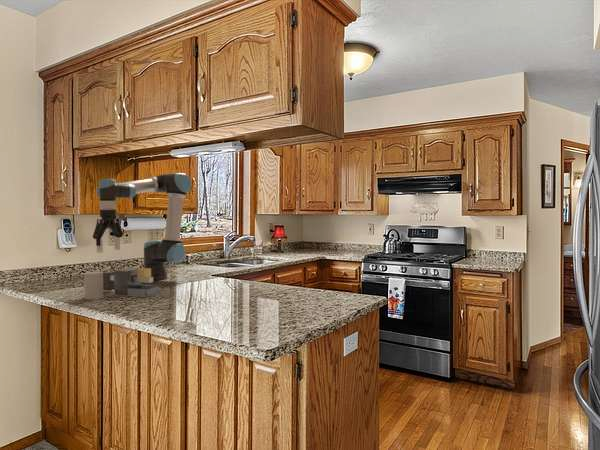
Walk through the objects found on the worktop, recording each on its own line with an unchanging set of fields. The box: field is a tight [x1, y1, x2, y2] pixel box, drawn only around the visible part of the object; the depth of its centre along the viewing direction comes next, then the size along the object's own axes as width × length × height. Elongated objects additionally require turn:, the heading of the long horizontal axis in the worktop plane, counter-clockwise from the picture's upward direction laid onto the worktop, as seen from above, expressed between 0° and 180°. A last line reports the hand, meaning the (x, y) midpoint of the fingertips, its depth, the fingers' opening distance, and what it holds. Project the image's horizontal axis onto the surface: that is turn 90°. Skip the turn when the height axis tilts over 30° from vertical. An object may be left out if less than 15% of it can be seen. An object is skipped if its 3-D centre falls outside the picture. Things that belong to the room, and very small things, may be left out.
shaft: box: [102, 271, 154, 292], centre depth 214 cm, size 4×29×9 cm, turn 72°
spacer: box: [138, 267, 151, 278], centre depth 211 cm, size 5×4×4 cm
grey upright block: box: [83, 271, 104, 300], centre depth 203 cm, size 8×8×12 cm
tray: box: [127, 284, 161, 298], centre depth 211 cm, size 10×11×4 cm
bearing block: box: [113, 267, 142, 297], centre depth 214 cm, size 10×8×12 cm
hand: (108, 251), depth 216 cm, fingers open, 13 cm apart
